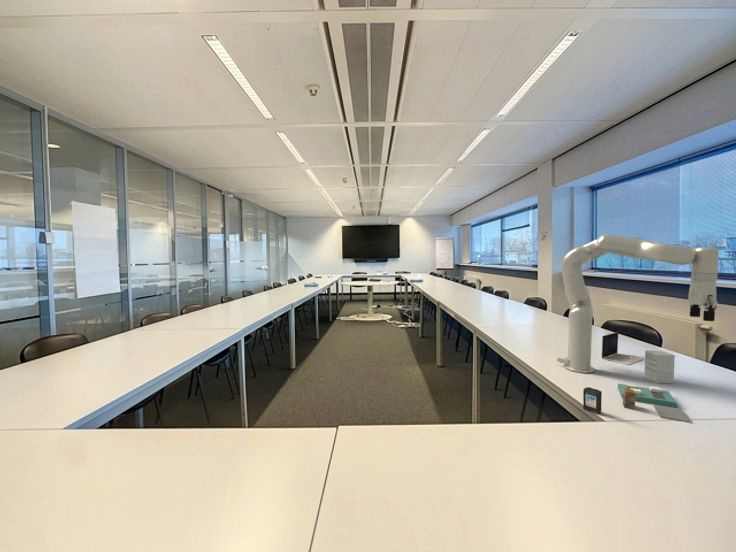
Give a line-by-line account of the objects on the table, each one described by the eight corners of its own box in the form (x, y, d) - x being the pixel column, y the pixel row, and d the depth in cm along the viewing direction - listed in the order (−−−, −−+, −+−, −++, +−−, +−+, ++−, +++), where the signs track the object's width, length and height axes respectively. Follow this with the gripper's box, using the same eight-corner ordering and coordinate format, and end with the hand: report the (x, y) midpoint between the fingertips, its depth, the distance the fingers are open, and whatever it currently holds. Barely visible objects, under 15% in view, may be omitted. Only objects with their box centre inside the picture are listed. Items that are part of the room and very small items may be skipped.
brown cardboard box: (624, 407, 121) (625, 391, 121) (622, 403, 125) (623, 387, 124) (634, 409, 120) (635, 393, 119) (632, 405, 123) (633, 389, 123)
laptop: (628, 366, 168) (629, 340, 167) (601, 359, 179) (602, 335, 178) (643, 360, 177) (644, 336, 177) (616, 354, 188) (617, 331, 187)
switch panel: (622, 398, 129) (622, 393, 128) (617, 388, 139) (617, 383, 139) (677, 408, 120) (677, 402, 120) (667, 396, 131) (668, 391, 131)
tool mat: (660, 417, 114) (660, 416, 114) (653, 405, 122) (653, 404, 122) (691, 423, 110) (692, 421, 110) (682, 410, 118) (682, 409, 118)
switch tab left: (631, 393, 128) (631, 390, 128) (630, 391, 131) (630, 388, 130) (641, 394, 127) (641, 391, 127) (639, 392, 129) (640, 389, 129)
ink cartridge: (583, 409, 120) (583, 387, 120) (586, 407, 121) (586, 386, 121) (598, 414, 116) (598, 392, 116) (601, 412, 117) (601, 390, 117)
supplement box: (660, 377, 151) (662, 350, 150) (674, 383, 144) (675, 355, 143) (643, 377, 152) (644, 349, 151) (655, 383, 144) (657, 354, 144)
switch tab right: (651, 391, 130) (651, 388, 130) (649, 389, 132) (649, 386, 132) (660, 392, 129) (661, 389, 129) (659, 390, 131) (659, 387, 131)
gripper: (681, 276, 145) (679, 314, 146) (704, 278, 129) (702, 322, 130) (703, 276, 142) (701, 315, 143) (730, 279, 126) (727, 323, 127)
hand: (701, 318), depth 136 cm, fingers open, 9 cm apart
